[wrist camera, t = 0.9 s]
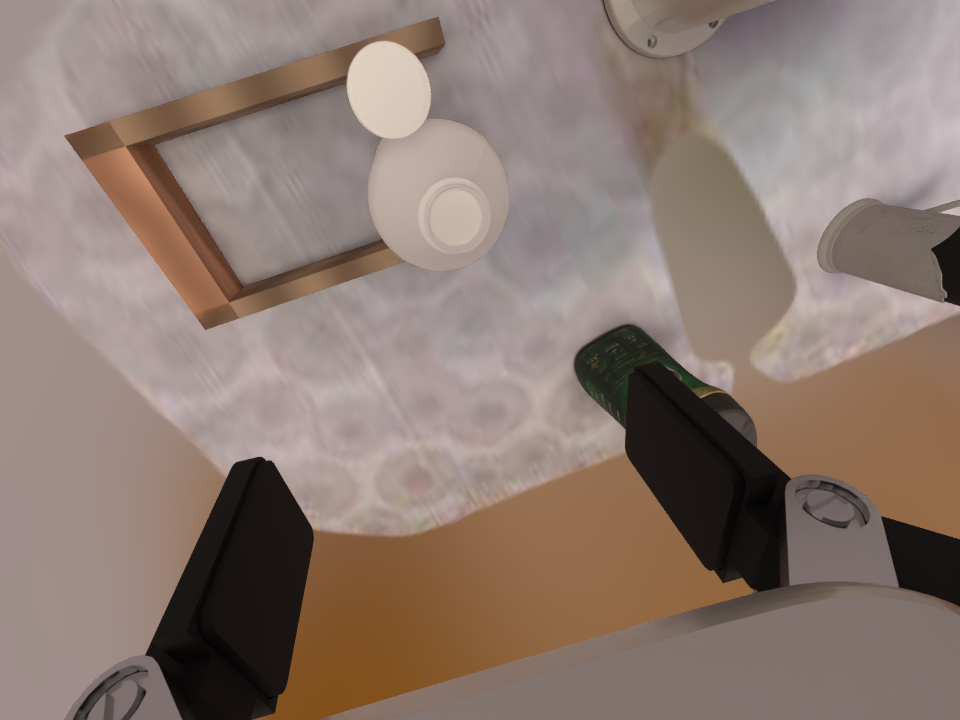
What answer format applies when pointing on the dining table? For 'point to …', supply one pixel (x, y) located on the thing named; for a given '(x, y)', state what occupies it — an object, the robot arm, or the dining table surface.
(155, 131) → the channel
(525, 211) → the dining table surface
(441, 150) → the water bottle
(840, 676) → the robot arm
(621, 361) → the coffee jar
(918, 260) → the glass holder
